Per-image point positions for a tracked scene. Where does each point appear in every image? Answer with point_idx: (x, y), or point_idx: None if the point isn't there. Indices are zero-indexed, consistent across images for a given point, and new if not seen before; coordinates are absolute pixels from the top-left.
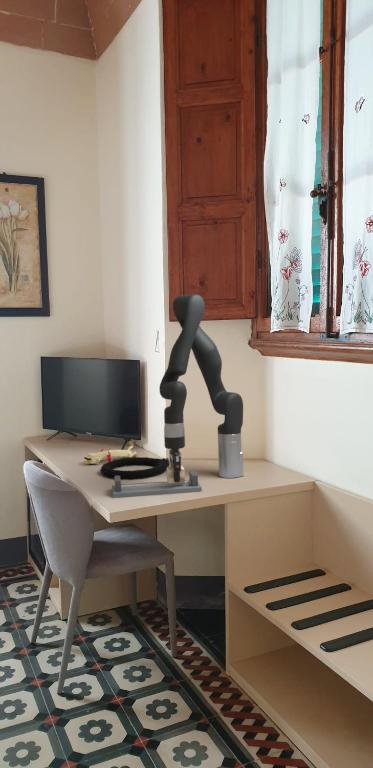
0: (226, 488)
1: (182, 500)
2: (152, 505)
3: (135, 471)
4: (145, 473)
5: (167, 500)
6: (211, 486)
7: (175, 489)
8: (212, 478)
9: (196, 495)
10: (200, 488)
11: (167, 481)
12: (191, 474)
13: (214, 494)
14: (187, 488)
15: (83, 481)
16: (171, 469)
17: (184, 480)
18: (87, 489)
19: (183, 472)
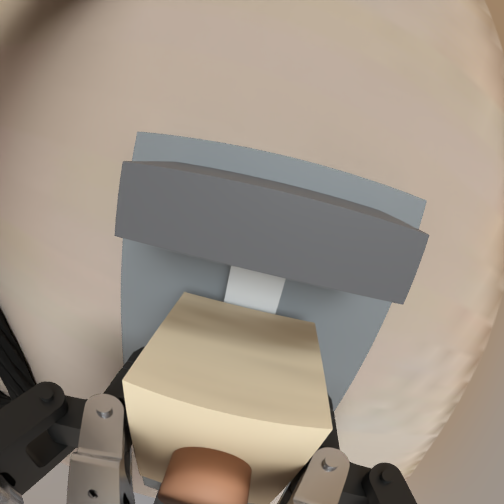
0: (404, 16)
1: (467, 362)
2: (420, 450)
3: (14, 392)
4: (9, 359)
5: (418, 414)
6: (310, 60)
7: (350, 384)
8: (106, 14)
9: (459, 271)
10: (419, 209)
11: (128, 355)
12: (337, 289)
13: (494, 160)
14: (385, 313)
15: (66, 458)
16: (251, 493)
17: (315, 338)
18: (138, 491)
19: (322, 406)
